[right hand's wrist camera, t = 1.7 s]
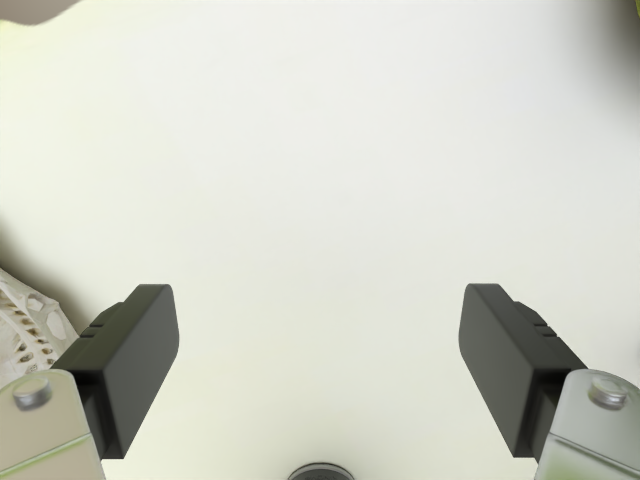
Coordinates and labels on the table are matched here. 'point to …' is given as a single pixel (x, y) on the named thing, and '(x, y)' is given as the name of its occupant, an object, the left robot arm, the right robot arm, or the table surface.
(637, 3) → the vegetable
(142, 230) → the table surface
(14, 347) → the anatomical model
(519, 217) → the table surface
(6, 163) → the table surface
